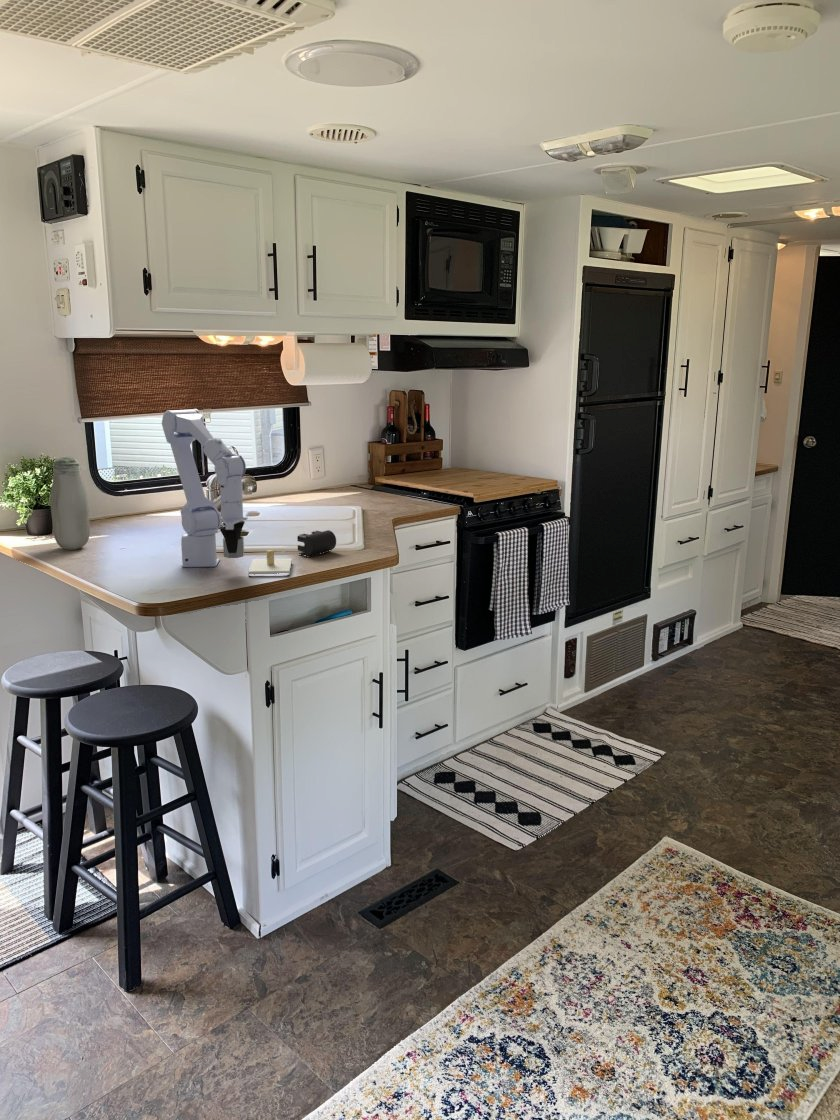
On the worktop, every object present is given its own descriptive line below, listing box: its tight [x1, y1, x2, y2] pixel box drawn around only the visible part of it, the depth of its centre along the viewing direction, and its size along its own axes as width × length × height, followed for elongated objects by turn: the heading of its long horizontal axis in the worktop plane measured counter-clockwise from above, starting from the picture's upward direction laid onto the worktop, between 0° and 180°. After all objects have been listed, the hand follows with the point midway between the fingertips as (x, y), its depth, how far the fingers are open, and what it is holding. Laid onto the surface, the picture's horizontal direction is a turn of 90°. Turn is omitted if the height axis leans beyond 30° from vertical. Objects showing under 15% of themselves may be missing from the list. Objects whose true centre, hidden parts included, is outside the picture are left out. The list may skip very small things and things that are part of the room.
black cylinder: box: [297, 529, 337, 557], centre depth 255 cm, size 10×7×7 cm
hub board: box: [247, 549, 293, 575], centre depth 237 cm, size 11×14×6 cm
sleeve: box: [222, 535, 245, 559], centre depth 231 cm, size 5×5×5 cm
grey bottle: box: [49, 456, 91, 551], centre depth 256 cm, size 10×10×28 cm
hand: (233, 550), depth 231 cm, fingers closed on sleeve, 5 cm apart
